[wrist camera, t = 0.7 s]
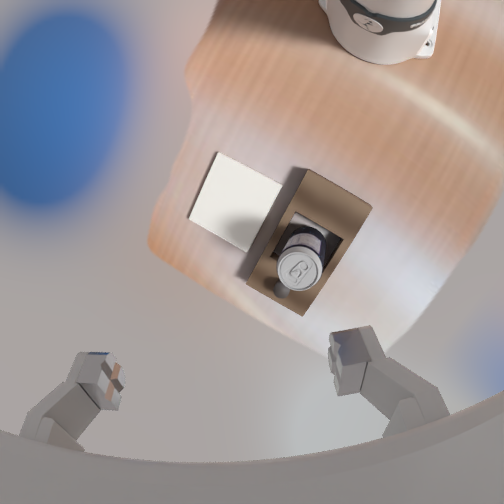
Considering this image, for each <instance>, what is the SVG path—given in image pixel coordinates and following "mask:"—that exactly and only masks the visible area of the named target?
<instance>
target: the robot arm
mask: <svg viewBox="0 0 504 504" xmlns="http://www.w3.org/2000/svg"><path fill="white" fill-rule="evenodd" d="M318 2H319V5H320V6H321V8H322V9H323V10H324V12H325V13H326V14H327V16H328V19H329V23H330V27H331V30H332V32H333V34H334V36H335V38H336V39H337V41H338V42H339V43H340V44H341V45H342V46H343V47H344V48H345V49H346V50H347V51H348V52H350V53H351V54H353V55H354V56H356V57H358V58H360V59H362V60H365V61H368V62H371V63H375V64H384V65H389V64H397V63H400V62H403V61H406V60H408V59H411V58H430V57H431V56H432V54H433V51H434V46H435V40H436V34H437V27H438V20H439V13H440V5H441V0H319V1H318ZM426 43H428V45H429V46H426V45H425V44H426ZM329 342H330V345H331V346H330V347H329V348H328V359H329V366H330V370H331V372H332V373H333V374H334V375H335V376H334V385H335V388H336V392H337V395H338V396H343V395H348V394H354V393H358V392H360V394H361V395H362V396H363V397H365V398H366V399H367V400H368V401H369V402H370V403H371V404H372V405H374V406H375V407H376V408H377V409H378V410H379V411H380V412H381V413H382V414H384V415H385V416H386V417H387V418H388V419H389V420H390V422H389V424H388V426H387V427H386V429H385V431H384V433H383V438H381V439H377V440H373V441H370V442H365V443H361V444H357V445H353V446H348V447H344V448H339V449H334V450H329V451H323V452H318V453H312V454H305V455H299V456H291V457H283V458H276V459H266V460H253V461H237V462H209V463H208V462H206V463H204V462H166V461H150V460H139V459H128V458H120V457H113V456H106V455H99V454H93V453H87V452H84V451H85V450H84V448H83V446H81V445H80V444H79V443H78V442H77V441H76V440H77V439H78V438H79V436H80V435H81V434H82V433H83V431H84V430H85V429H86V428H87V427H88V425H89V424H90V423H91V422H92V420H93V419H94V418H95V417H96V416H97V415H98V413H99V412H100V410H116V411H118V409H119V405H120V401H121V395H120V393H119V392H120V391H121V390H122V389H123V388H124V385H125V374H124V370H123V369H122V367H121V366H120V365H119V364H117V363H116V357H115V356H114V354H113V353H106V352H105V353H103V352H79V353H78V354H77V355H76V358H75V360H74V362H73V365H72V367H71V370H70V372H69V374H68V377H67V379H66V382H62V383H61V384H60V385H59V386H57V387H56V388H55V389H54V390H53V391H52V392H51V393H49V394H48V395H47V396H46V397H45V398H44V399H42V400H41V401H40V402H39V403H38V404H37V405H36V406H34V407H33V408H32V409H31V410H30V411H29V412H28V413H27V416H26V418H25V421H24V424H23V426H22V429H21V431H20V434H19V436H18V435H14V434H11V433H8V432H5V431H2V430H0V504H504V390H503V391H502V392H500V393H498V394H496V395H494V396H492V397H490V398H488V399H486V400H483V401H481V402H479V403H477V404H475V405H473V406H470V407H468V408H466V409H464V410H461V411H459V412H456V413H454V414H452V415H450V413H449V411H448V410H447V407H446V405H445V403H444V401H443V398H442V396H441V394H440V392H439V390H438V388H437V387H436V386H434V385H432V384H431V383H429V382H428V381H426V380H425V379H423V378H422V377H420V376H418V375H417V374H415V373H414V372H412V371H411V370H409V369H407V368H406V367H404V366H403V365H401V364H400V363H398V362H396V361H395V360H393V359H392V358H390V357H389V358H386V356H385V354H384V352H383V350H382V348H381V345H380V343H379V341H378V339H377V337H376V334H375V332H374V330H373V328H372V327H371V326H370V325H369V326H364V327H359V328H353V329H348V330H343V331H338V332H332V333H330V335H329Z"/></svg>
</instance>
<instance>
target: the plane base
mask: <svg viewBox="0 0 504 504" xmlns="http://www.w3.org/2000/svg"><path fill="white" fill-rule="evenodd" d="M371 210H372V206H371V205H370V204H368V203H366V202H365V201H363V200H362V199H360V198H358V197H357V196H355V195H353V194H352V193H350V192H348V191H347V190H345V189H343V188H342V187H340V186H338V185H336V184H335V183H333V182H331V181H330V180H328V179H326V178H324V177H323V176H321V175H319V174H317V173H315V172H314V171H312V170H310V169H309V170H308V171H307V172H306V174H305V176H304V178H303V180H302V182H301V184H300V185H299V187H298V189H297V191H296V193H295V195H294V196H293V198H292V200H291V202H290V204H289V206H288V208H287V209H286V211H285V213H284V215H283V217H282V219H281V220H280V222H279V224H278V226H277V228H276V230H275V231H274V233H273V235H272V237H271V239H270V241H269V242H268V244H267V246H266V248H265V250H264V252H263V253H262V255H261V257H260V259H259V261H258V262H257V264H256V266H255V268H254V270H253V272H252V273H251V275H250V277H249V279H248V281H247V282H246V284H247V285H248V286H250V287H252V288H253V289H255V290H257V291H259V292H260V293H262V294H264V295H266V296H267V297H269V298H271V299H272V300H274V301H276V302H278V303H279V304H281V305H283V306H285V307H286V308H288V309H290V310H292V311H294V312H295V313H297V314H299V315H301V316H302V317H303V315H304V314H305V312H306V311H307V310H308V308H309V307H310V305H311V304H312V302H313V301H314V299H315V298H316V296H317V295H318V293H319V292H320V290H321V289H322V288H323V286H324V285H325V283H326V282H327V280H328V278H329V277H330V275H331V274H332V272H333V271H334V269H335V268H336V266H337V265H338V263H339V262H340V260H341V258H342V257H343V255H344V254H345V252H346V251H347V249H348V247H349V246H350V244H351V243H352V241H353V239H354V238H355V236H356V235H357V233H358V231H359V230H360V228H361V226H362V225H363V223H364V222H365V220H366V218H367V217H368V215H369V213H370V211H371ZM295 212H298V213H300V214H301V215H303V216H305V217H307V218H308V219H310V220H312V221H314V222H315V223H317V224H319V225H320V226H322V227H324V228H326V229H327V230H329V231H331V232H332V233H334V234H336V235H337V236H339V237H341V240H340V242H339V243H338V245H337V246H336V248H335V250H334V251H333V253H332V254H331V256H330V258H329V259H328V261H327V262H326V264H325V266H324V267H323V272H322V276H321V278H320V280H319V281H318V282H317V283H316V284H315V285H314V286H312V287H310V288H309V289H307V290H303V291H296V290H292V289H289V288H288V287H286V286H285V285H284V284H283V283H282V282H281V280H280V279H279V276H278V273H277V269H276V264H277V260H278V257H279V255H277V254H276V253H274V252H273V251H274V249H275V247H276V246H277V244H278V242H279V240H280V239H281V237H282V235H283V233H284V231H285V230H286V228H287V226H288V224H289V222H290V221H291V219H292V217H293V215H294V213H295Z"/></svg>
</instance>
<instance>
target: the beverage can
mask: <svg viewBox="0 0 504 504" xmlns="http://www.w3.org/2000/svg"><path fill="white" fill-rule="evenodd" d="M325 250H326V241H325V238H324V236H323V235H322V234H321V232H319V231H318V230H317V229H315V228H312V227H302V228H299V229H297V230H295V231H294V232H293V233H292V235H291V236H290V238H289V240H288V242H287V243H286V245H285V247H284V249H283V250H282V252H281V254H280V256H279V257H278V260H277V264H276V269H277V273H278V276H279V279H280V280H281V282H282V283H283V284H284V285H285V286H286V287H288V288H289V289H292V290H296V291H303V290H307V289H309V288H310V287H312V286H314V285H315V284H316V283H317V282H318V281H319V280H320V278H321V276H322V272H323V265H324V258H325Z"/></svg>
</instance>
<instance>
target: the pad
mask: <svg viewBox="0 0 504 504" xmlns="http://www.w3.org/2000/svg"><path fill="white" fill-rule="evenodd" d="M282 186H283V185H282V184H280V183H278V182H277V181H275V180H273V179H271V178H269V177H267V176H265V175H263V174H262V173H260V172H258V171H256V170H254V169H252V168H250V167H248V166H246V165H244V164H242V163H240V162H239V161H237V160H235V159H233V158H231V157H229V156H227V155H225V154H223V153H221V152H218V154H217V156H216V158H215V160H214V163H213V165H212V167H211V169H210V171H209V174H208V176H207V178H206V180H205V183H204V185H203V187H202V189H201V192H200V194H199V196H198V199H197V201H196V203H195V206H194V208H193V210H192V213H191V215H190V217H189V220H191V221H193V222H195V223H196V224H198V225H200V226H201V227H203V228H205V229H207V230H208V231H210V232H212V233H214V234H215V235H217V236H219V237H220V238H222V239H224V240H226V241H227V242H229V243H231V244H233V245H234V246H236V247H238V248H240V249H241V250H243V251H245V252H246V253H247V252H248V251H249V249H250V247H251V245H252V243H253V241H254V239H255V237H256V235H257V234H258V232H259V230H260V228H261V226H262V224H263V222H264V220H265V218H266V216H267V215H268V213H269V211H270V209H271V207H272V205H273V203H274V201H275V199H276V197H277V196H278V194H279V192H280V190H281V188H282Z"/></svg>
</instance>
